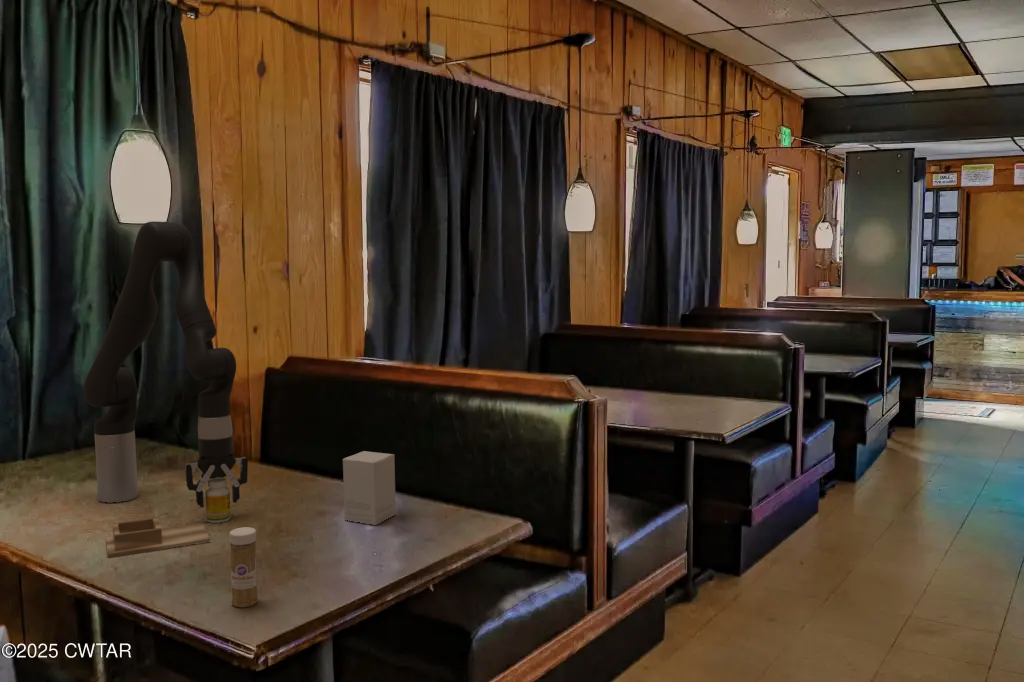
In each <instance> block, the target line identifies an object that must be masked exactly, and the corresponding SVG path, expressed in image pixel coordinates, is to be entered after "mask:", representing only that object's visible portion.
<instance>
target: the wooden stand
mask: <svg viewBox="0 0 1024 682" xmlns="http://www.w3.org/2000/svg"><path fill="white" fill-rule="evenodd" d="M209 541H210V542H211V538H210V536H209V534H208V532H207V530H206V528H205V525H204V523H203V522H199V523H192V524H186V525H184V524H183V525H178V526H171V527H170V526H169V527H163V528H162V527H161V524H160V520H159V517H157V516H156V517H149V518H143V519H136V520H135V519H133V520H127V521H120V522H119V521H117V522H112V535H107V536H105V543H106V544H105V545H106V551H107V552H106V553H107V559H109V558H117V557H123V556H129V555H130V556H131V555H135V554H141V553H148V552H149V551H150V552H156V551H162V549H163V550H168V549H167V548H170V549H174V548H173V547H176V548H179V547H178V546H183V547H185V546H184V545H189V546H191V545H190V544H196V543H202V542H209ZM210 542H209V543H210ZM196 545H197V544H196ZM155 550H156V551H155Z"/></svg>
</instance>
